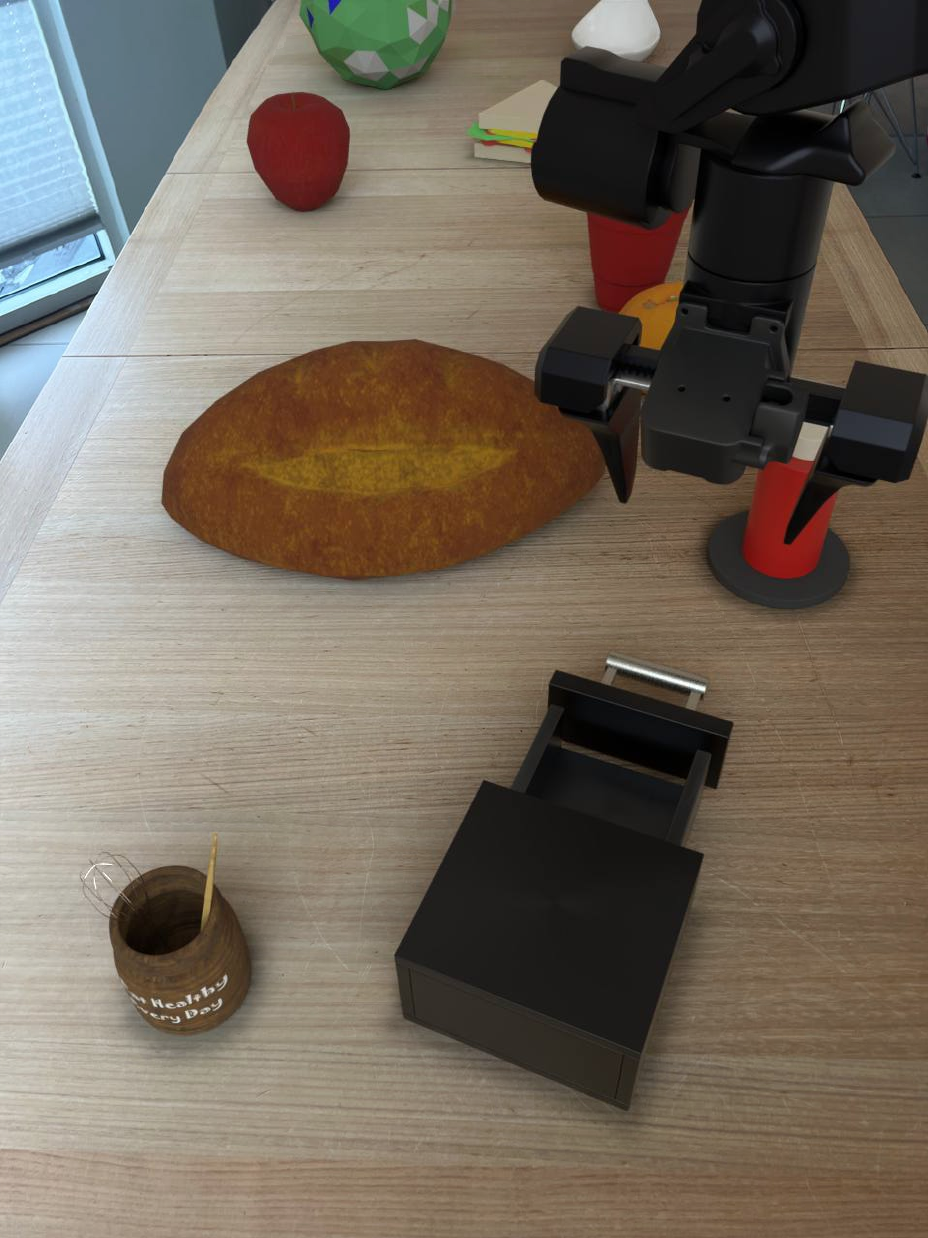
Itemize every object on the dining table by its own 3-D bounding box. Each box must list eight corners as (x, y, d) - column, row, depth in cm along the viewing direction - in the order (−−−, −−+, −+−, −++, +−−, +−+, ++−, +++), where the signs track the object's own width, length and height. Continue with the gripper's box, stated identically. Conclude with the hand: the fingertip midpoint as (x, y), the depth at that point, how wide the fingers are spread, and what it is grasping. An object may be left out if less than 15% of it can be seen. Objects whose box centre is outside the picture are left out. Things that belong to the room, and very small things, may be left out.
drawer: (575, 672, 66) (579, 619, 63) (738, 721, 63) (751, 668, 60) (493, 846, 58) (492, 795, 54) (677, 911, 55) (688, 862, 51)
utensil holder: (144, 932, 56) (79, 798, 47) (265, 925, 56) (222, 789, 47) (125, 1045, 51) (50, 919, 43) (256, 1036, 52) (207, 910, 43)
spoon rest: (652, 80, 140) (658, 20, 135) (564, 76, 143) (566, 16, 137) (668, 24, 157) (674, -32, 152) (589, 20, 159) (592, -35, 154)
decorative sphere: (412, 143, 143) (280, 67, 131) (390, 64, 154) (265, -13, 142) (499, 17, 131) (362, -79, 119) (468, -59, 142) (340, -153, 130)
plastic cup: (704, 322, 97) (724, 192, 89) (590, 337, 96) (599, 207, 87) (664, 267, 105) (679, 142, 96) (558, 280, 103) (563, 155, 95)
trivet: (857, 535, 76) (860, 527, 76) (834, 624, 70) (837, 616, 69) (724, 504, 79) (726, 495, 78) (691, 587, 73) (692, 578, 72)
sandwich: (562, 203, 115) (563, 156, 112) (449, 149, 126) (448, 105, 123) (661, 163, 122) (666, 118, 118) (546, 116, 133) (548, 73, 129)
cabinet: (484, 848, 59) (483, 779, 54) (687, 921, 55) (704, 853, 51) (402, 1019, 52) (393, 955, 47) (628, 1112, 49) (641, 1054, 44)
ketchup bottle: (824, 539, 75) (861, 412, 67) (810, 587, 71) (847, 458, 64) (750, 521, 76) (778, 395, 69) (733, 567, 73) (760, 439, 65)
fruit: (594, 353, 94) (600, 268, 88) (712, 345, 94) (725, 260, 89) (617, 421, 87) (625, 333, 81) (744, 412, 87) (761, 324, 81)
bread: (190, 427, 87) (155, 288, 79) (588, 411, 88) (598, 269, 79) (146, 608, 73) (98, 460, 64) (626, 586, 73) (643, 437, 64)
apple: (371, 212, 115) (362, 98, 107) (277, 234, 112) (260, 118, 103) (334, 175, 122) (322, 65, 114) (245, 194, 119) (226, 83, 110)
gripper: (491, 297, 46) (493, 566, 57) (947, 388, 40) (850, 667, 51) (579, 193, 53) (565, 450, 64) (978, 258, 47) (887, 527, 58)
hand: (704, 519), depth 59 cm, fingers open, 9 cm apart
